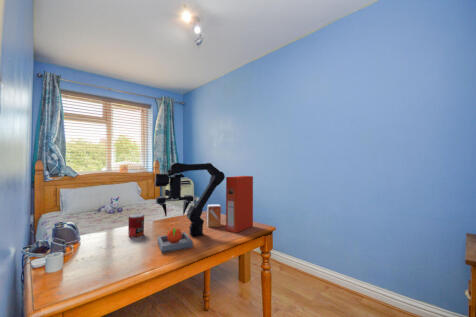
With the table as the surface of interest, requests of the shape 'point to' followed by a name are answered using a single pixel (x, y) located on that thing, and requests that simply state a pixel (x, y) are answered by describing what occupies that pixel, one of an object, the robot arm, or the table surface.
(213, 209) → the small box
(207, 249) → the table surface
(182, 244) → the tray
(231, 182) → the file binder
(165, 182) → the robot arm
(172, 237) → the clementine
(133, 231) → the canned food
